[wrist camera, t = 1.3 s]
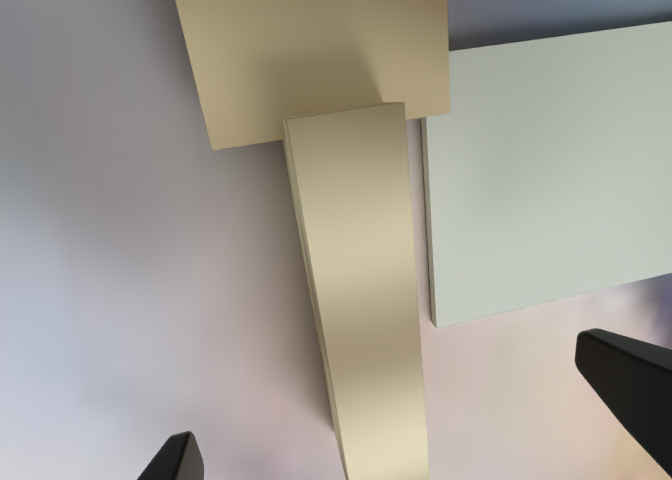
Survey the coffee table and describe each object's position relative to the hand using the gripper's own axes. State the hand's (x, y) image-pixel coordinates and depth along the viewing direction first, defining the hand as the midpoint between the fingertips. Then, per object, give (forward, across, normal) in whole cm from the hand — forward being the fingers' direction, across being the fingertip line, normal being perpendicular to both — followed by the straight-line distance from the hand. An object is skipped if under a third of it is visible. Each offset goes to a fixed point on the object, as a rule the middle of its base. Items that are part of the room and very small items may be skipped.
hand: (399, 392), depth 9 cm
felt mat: (+5, -10, -2) cm, 11 cm away
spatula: (+5, 0, -4) cm, 6 cm away
